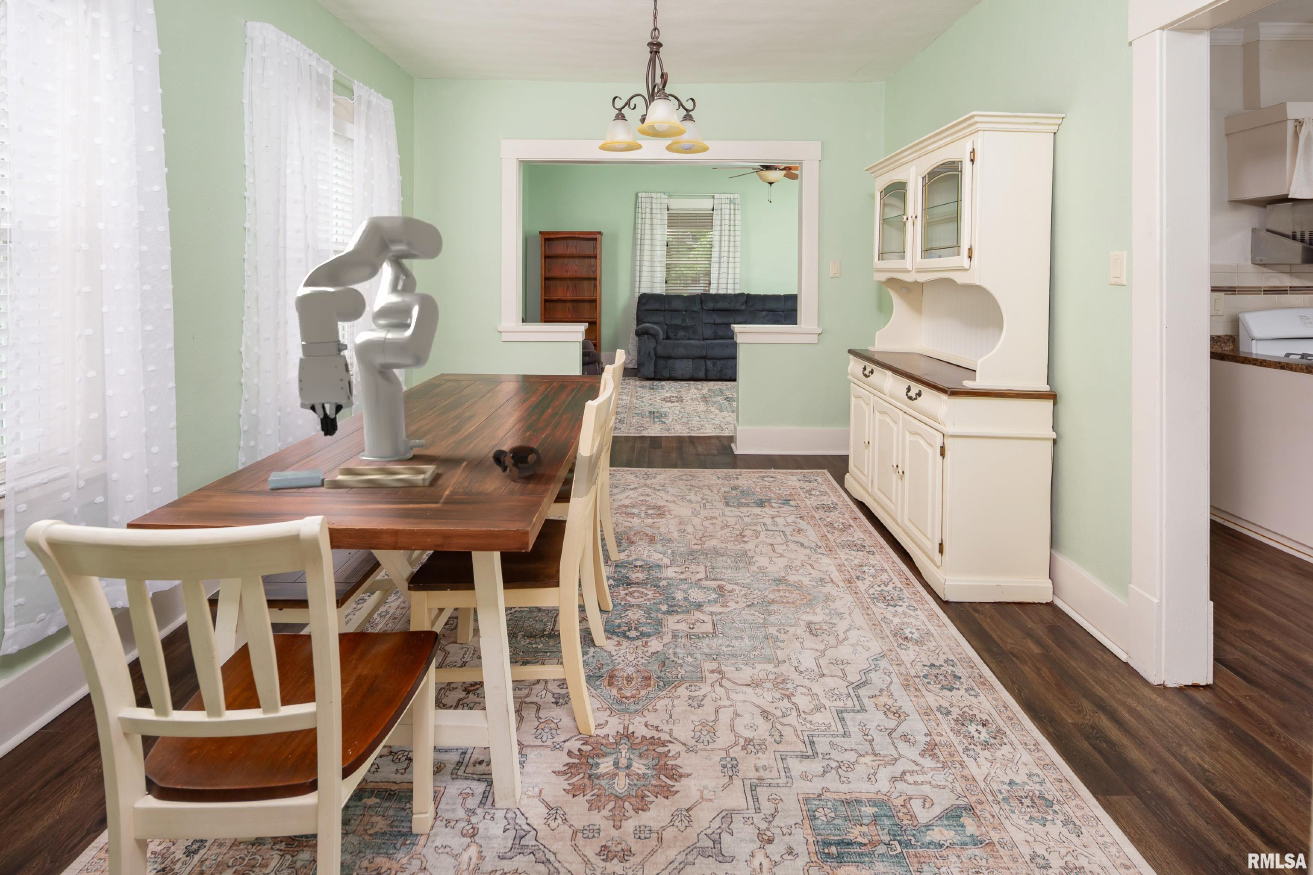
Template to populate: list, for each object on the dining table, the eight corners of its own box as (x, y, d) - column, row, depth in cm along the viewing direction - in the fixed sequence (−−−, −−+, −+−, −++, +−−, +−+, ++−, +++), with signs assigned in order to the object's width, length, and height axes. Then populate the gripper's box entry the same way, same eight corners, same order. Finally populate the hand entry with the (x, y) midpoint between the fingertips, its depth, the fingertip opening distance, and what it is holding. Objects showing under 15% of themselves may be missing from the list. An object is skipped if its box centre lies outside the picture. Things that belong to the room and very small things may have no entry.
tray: (436, 475, 183) (436, 465, 183) (427, 488, 172) (426, 478, 171) (340, 476, 181) (340, 467, 181) (324, 490, 170) (323, 480, 169)
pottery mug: (547, 474, 187) (550, 447, 182) (532, 500, 180) (534, 474, 175) (498, 459, 189) (499, 432, 183) (481, 485, 181) (482, 458, 176)
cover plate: (323, 482, 178) (322, 469, 178) (321, 490, 172) (320, 476, 171) (273, 485, 175) (272, 472, 174) (269, 493, 168) (267, 479, 168)
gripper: (362, 346, 175) (370, 429, 179) (290, 348, 173) (299, 431, 178) (353, 351, 167) (361, 438, 172) (278, 352, 166) (288, 439, 170)
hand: (330, 434), depth 175 cm, fingers closed
